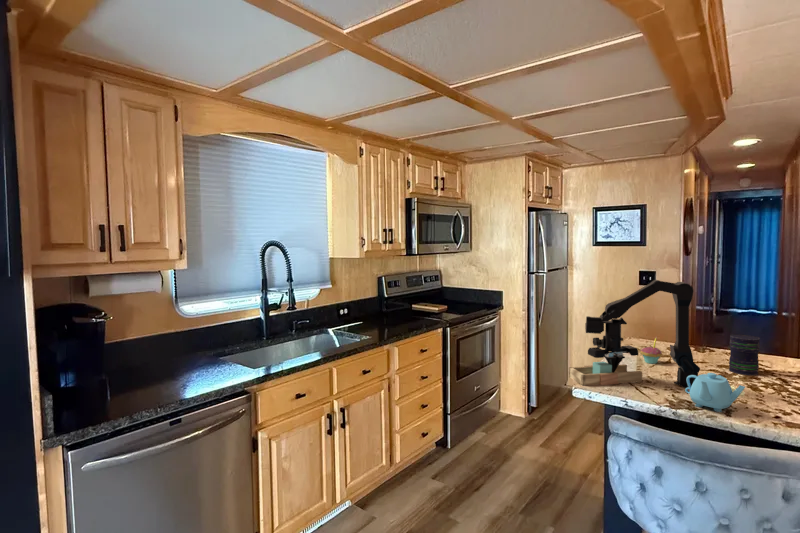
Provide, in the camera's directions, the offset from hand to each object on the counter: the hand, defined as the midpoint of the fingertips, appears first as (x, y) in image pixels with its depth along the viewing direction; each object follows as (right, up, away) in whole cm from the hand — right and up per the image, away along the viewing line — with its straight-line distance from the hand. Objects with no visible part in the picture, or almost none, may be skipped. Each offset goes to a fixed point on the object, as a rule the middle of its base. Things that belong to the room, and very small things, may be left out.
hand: (612, 372), depth 176 cm
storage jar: (+59, -2, +7) cm, 59 cm away
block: (-5, -1, -1) cm, 5 cm away
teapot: (+19, -5, -29) cm, 36 cm away
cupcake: (+28, -1, +22) cm, 36 cm away
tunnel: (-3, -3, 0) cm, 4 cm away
